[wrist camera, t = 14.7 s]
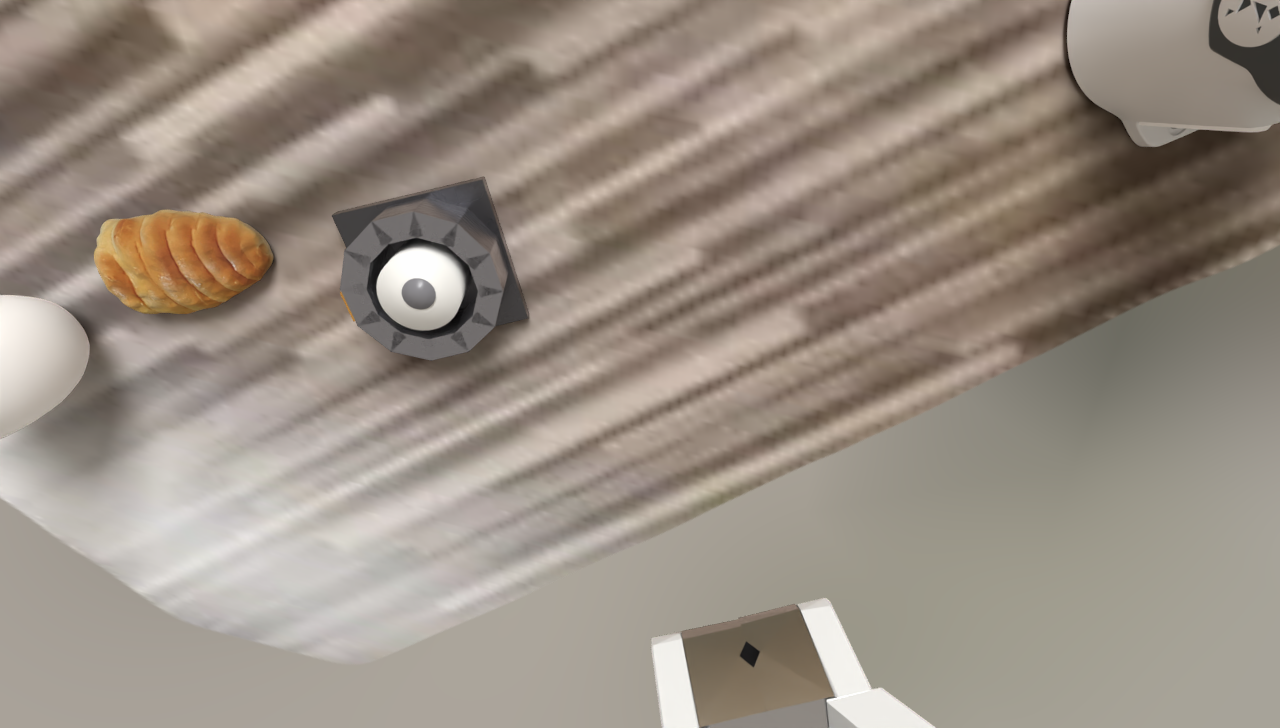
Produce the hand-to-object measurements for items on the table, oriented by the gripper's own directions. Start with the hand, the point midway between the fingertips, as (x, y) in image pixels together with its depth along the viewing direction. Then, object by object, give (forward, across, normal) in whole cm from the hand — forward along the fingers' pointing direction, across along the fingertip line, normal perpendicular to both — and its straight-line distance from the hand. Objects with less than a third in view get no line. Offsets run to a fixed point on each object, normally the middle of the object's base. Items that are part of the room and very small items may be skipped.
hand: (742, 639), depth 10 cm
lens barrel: (+35, +13, +2) cm, 37 cm away
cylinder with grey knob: (+34, +13, +2) cm, 37 cm away
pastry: (+36, +28, -3) cm, 45 cm away
